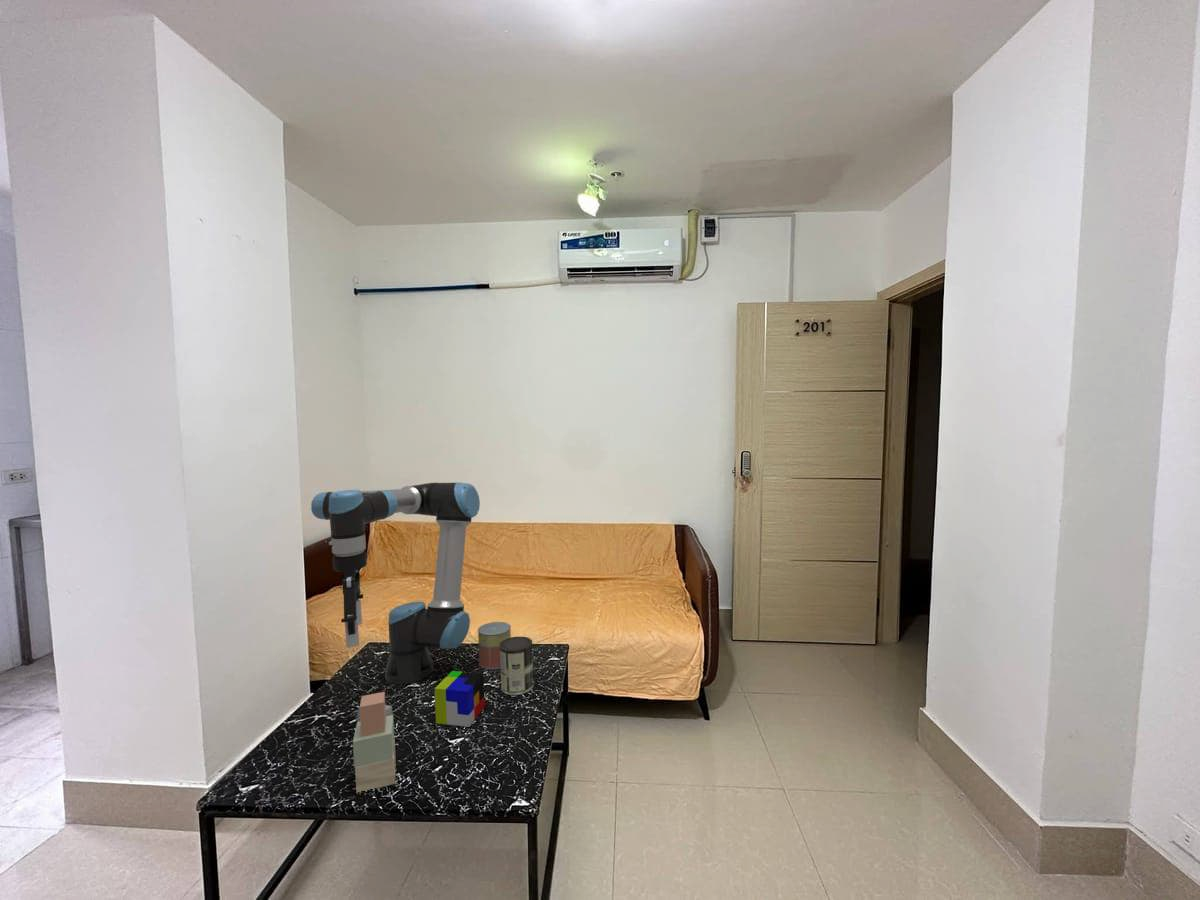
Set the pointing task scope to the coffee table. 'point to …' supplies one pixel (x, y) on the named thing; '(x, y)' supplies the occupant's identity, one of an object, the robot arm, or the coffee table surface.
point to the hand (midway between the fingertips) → (354, 635)
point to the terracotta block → (372, 714)
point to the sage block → (373, 745)
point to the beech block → (376, 774)
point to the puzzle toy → (459, 698)
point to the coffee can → (516, 665)
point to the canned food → (492, 643)
